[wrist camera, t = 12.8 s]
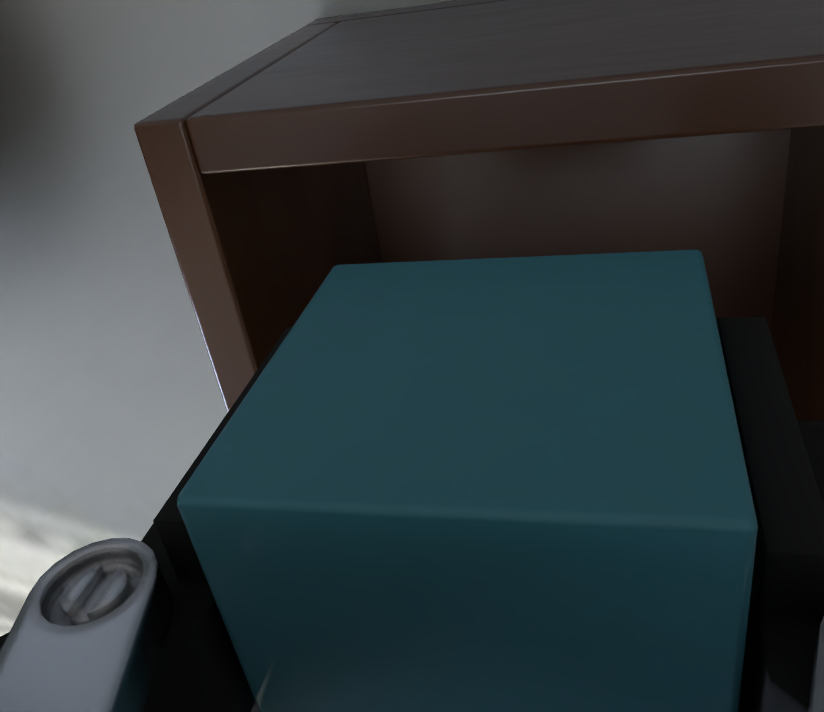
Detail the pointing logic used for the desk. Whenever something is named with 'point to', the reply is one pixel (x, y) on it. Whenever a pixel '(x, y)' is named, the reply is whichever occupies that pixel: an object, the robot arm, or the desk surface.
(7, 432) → the desk surface
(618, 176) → the chest
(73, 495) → the desk surface
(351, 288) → the block
